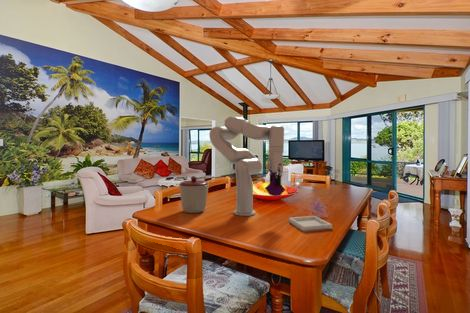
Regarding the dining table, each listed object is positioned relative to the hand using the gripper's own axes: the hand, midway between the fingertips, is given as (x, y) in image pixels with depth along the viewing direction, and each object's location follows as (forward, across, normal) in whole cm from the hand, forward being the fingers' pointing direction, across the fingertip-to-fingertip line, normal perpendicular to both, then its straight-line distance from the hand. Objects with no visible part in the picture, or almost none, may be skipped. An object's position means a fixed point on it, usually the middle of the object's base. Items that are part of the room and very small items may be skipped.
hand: (275, 184), depth 133 cm
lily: (+20, -3, +28) cm, 34 cm away
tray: (+19, +11, +14) cm, 26 cm away
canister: (+21, -30, -39) cm, 53 cm away
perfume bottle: (+6, 0, 0) cm, 6 cm away
